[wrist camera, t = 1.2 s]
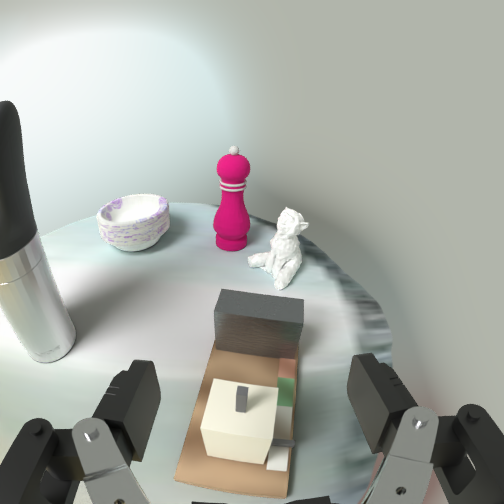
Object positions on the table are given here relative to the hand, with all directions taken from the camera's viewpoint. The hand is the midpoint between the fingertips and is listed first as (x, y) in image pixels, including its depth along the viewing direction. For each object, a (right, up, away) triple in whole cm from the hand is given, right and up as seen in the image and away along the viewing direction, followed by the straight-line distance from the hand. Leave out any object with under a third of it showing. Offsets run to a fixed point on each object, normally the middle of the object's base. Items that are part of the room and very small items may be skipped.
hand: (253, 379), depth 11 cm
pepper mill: (-4, +7, +50) cm, 50 cm away
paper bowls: (-24, +7, +49) cm, 55 cm away
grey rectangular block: (+1, -7, +27) cm, 28 cm away
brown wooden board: (-1, -13, +20) cm, 24 cm away
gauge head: (0, -14, +15) cm, 21 cm away
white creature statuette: (+5, +2, +43) cm, 43 cm away
